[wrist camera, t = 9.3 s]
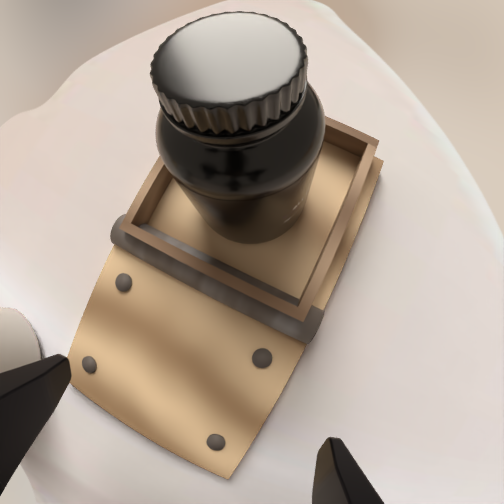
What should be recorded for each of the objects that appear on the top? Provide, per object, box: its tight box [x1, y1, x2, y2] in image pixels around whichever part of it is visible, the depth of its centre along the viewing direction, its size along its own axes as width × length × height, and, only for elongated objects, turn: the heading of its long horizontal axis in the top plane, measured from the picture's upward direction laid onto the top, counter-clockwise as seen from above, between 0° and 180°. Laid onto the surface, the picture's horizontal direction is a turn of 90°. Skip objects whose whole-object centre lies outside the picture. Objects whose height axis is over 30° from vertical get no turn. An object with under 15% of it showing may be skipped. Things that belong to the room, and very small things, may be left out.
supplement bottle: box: [150, 11, 325, 244], centre depth 13 cm, size 7×7×12 cm
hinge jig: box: [67, 116, 384, 479], centre depth 18 cm, size 24×14×3 cm, turn 154°
